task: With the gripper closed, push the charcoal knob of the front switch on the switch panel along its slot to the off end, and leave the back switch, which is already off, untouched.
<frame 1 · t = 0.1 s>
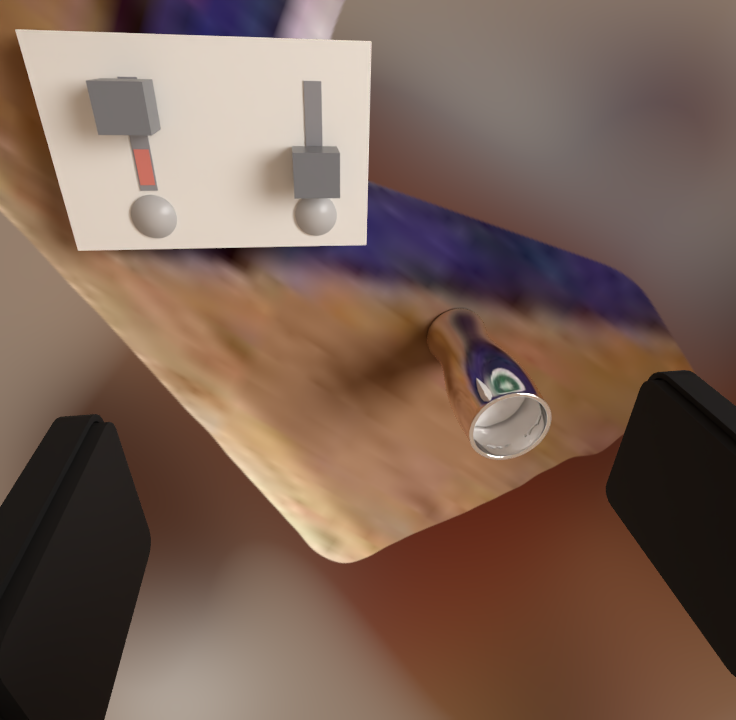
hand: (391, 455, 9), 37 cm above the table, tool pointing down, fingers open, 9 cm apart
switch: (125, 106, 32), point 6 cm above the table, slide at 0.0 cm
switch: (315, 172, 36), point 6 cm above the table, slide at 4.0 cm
beer glass: (454, 333, 52), on the table
switch panel: (221, 143, 39), on the table
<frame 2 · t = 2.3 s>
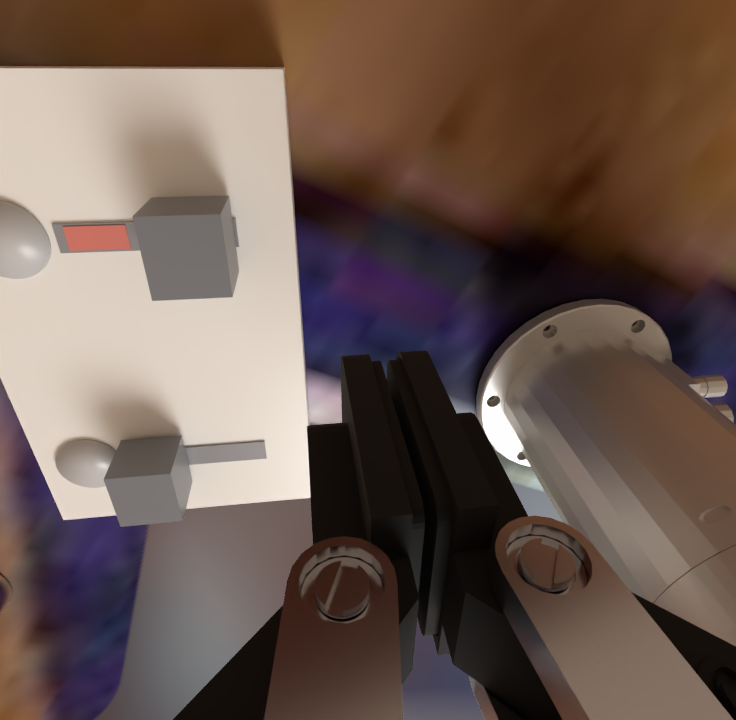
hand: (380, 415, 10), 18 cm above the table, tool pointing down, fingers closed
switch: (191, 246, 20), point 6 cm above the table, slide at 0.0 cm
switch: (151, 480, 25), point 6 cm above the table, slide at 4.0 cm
switch panel: (168, 305, 27), on the table
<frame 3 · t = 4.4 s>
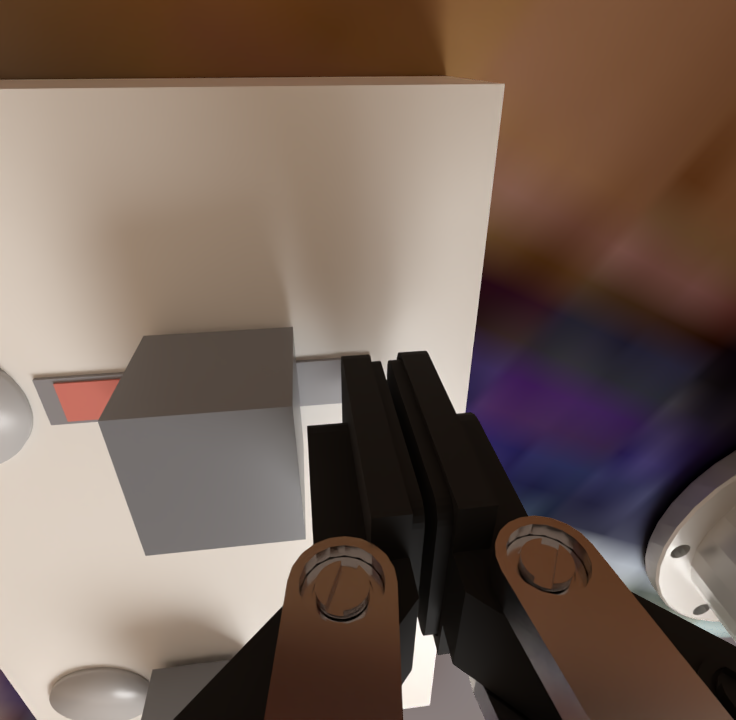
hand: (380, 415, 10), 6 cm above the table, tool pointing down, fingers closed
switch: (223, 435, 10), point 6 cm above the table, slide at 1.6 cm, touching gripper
switch panel: (222, 445, 17), on the table
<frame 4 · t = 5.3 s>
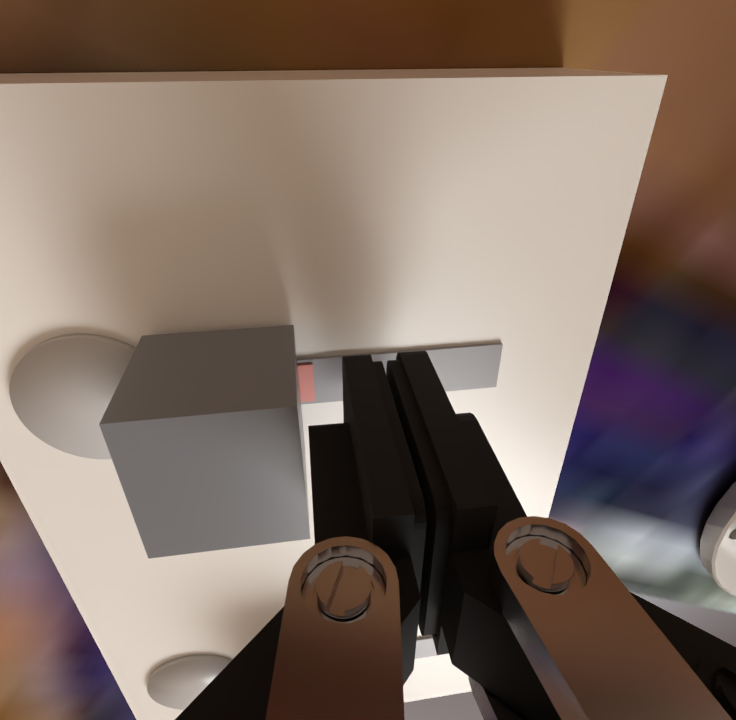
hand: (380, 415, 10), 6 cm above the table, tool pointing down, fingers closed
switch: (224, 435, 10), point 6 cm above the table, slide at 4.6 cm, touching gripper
switch panel: (310, 435, 17), on the table
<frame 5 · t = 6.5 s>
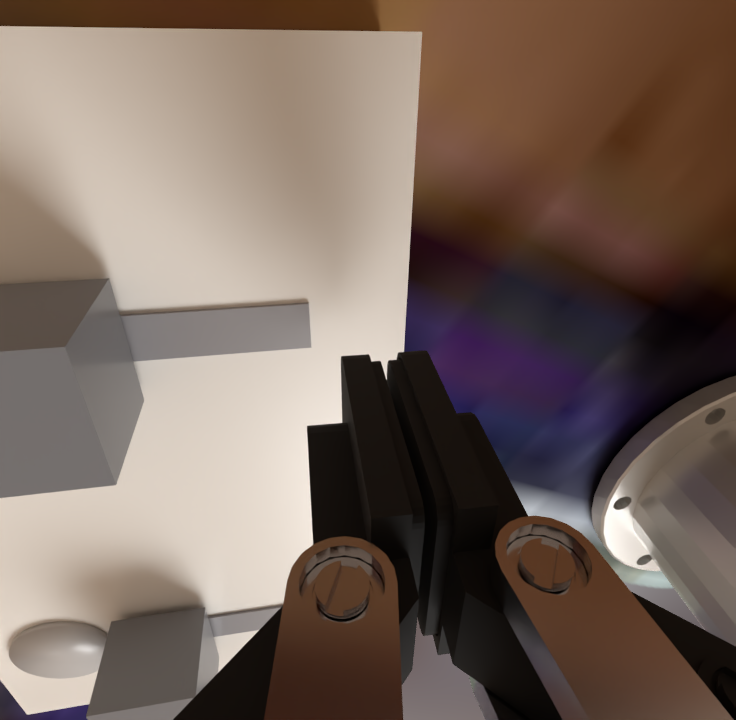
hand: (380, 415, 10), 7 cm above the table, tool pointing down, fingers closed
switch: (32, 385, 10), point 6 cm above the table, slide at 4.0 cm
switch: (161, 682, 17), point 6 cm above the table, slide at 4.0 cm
switch panel: (177, 405, 18), on the table
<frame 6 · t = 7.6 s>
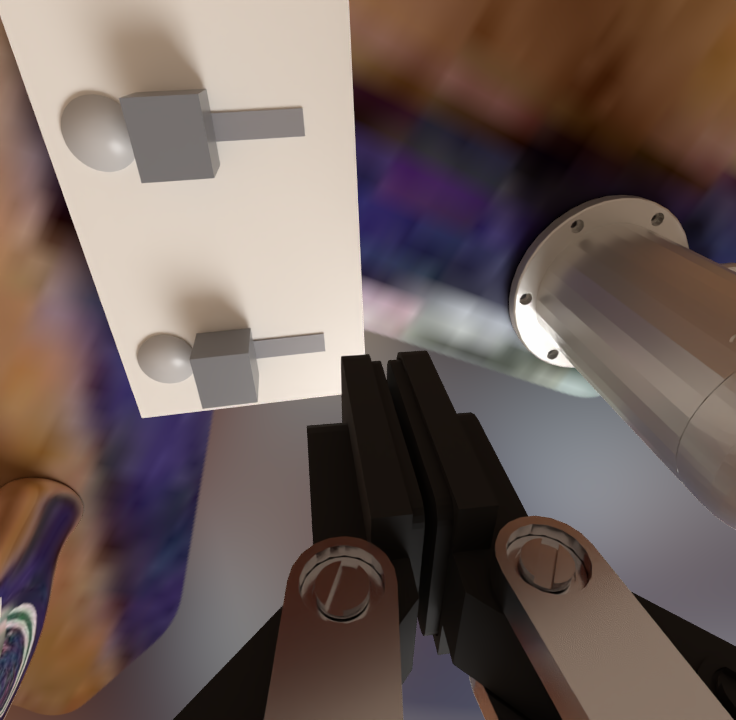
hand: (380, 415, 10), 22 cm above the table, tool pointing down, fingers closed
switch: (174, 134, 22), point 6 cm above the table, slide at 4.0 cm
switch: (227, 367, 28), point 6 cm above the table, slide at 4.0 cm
beer glass: (41, 503, 39), on the table
switch panel: (230, 212, 29), on the table
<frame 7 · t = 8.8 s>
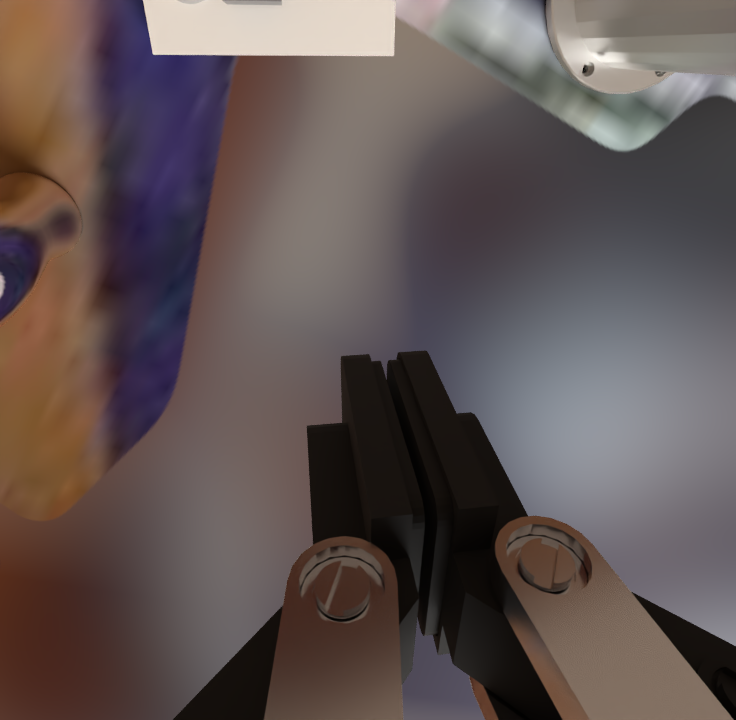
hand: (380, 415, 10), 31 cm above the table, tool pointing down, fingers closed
beer glass: (37, 215, 36), on the table
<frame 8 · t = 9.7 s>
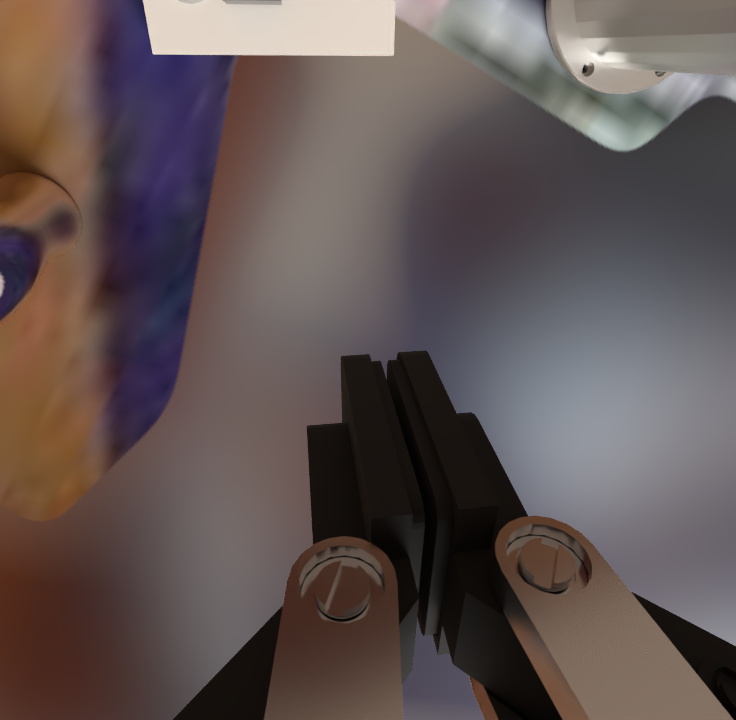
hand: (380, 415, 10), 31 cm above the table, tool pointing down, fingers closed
beer glass: (37, 215, 36), on the table
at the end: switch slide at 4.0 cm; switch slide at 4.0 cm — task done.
